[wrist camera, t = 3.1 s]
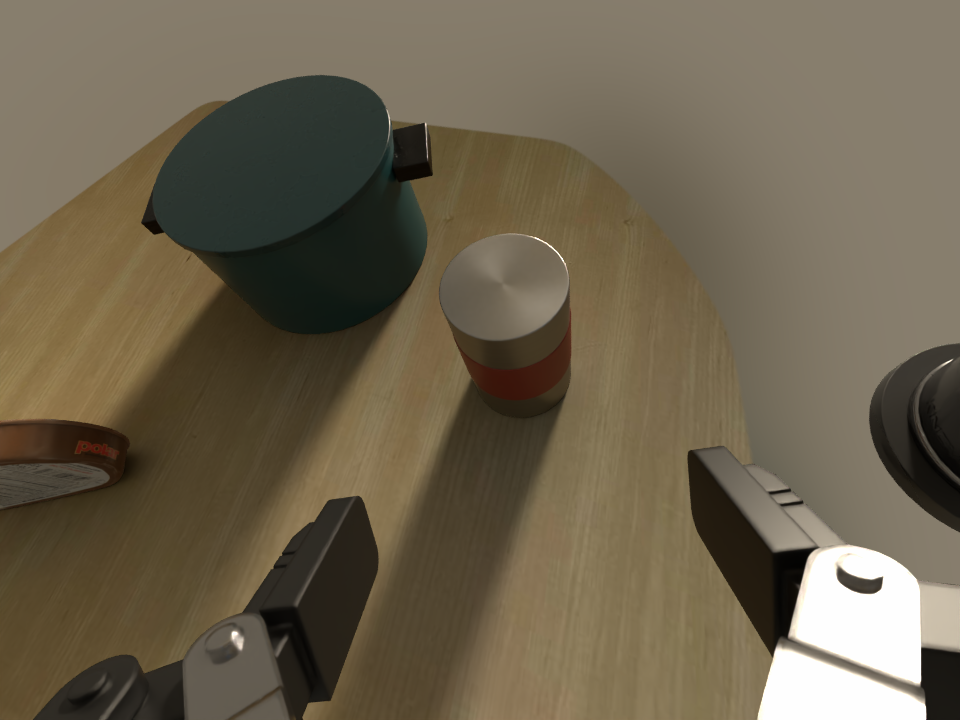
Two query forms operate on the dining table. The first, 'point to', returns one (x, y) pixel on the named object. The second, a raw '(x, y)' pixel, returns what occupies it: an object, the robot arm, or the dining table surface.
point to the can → (511, 321)
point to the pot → (300, 201)
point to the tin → (56, 459)
